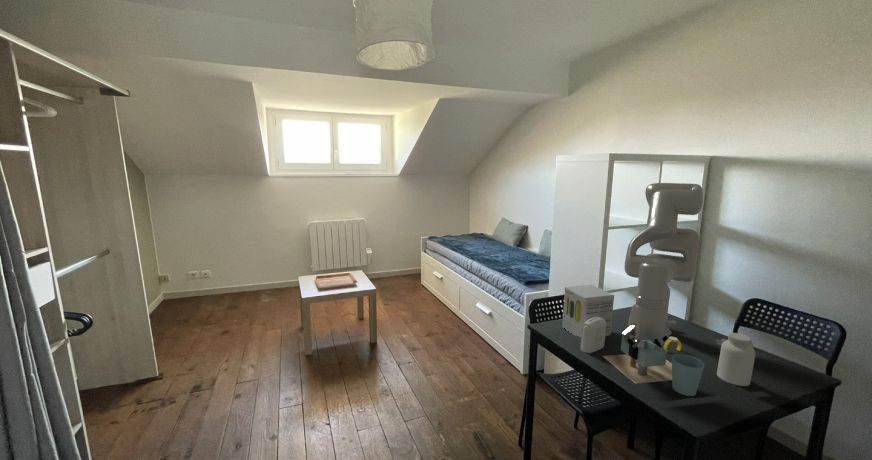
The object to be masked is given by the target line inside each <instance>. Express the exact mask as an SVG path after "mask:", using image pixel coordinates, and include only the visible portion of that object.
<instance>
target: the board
mask: <svg viewBox="0 0 872 460" xmlns="http://www.w3.org/2000/svg"><path fill="white" fill-rule="evenodd" d="M602 358H604V359H605V360H606V361H608V363H609V364H611V366H613V367H615V369H617V370H619V371H620V372H621V373H622V374H623V375H624V376H625V377H626V378H628V379H629V380H630V381H631V382H632V383H633V384H635V385H636V384H647V383H656V382H667V381H672V362H670V361H669V360H667V359H666V363H665V365H663V366H651V367H643V366H642V365H640V364H639V363H638V362H636V361H635V360H634V359H632V358H631V357H629V356H628V355H627V354H625V353H624V354H623V353H622V354H611V355H602Z"/></svg>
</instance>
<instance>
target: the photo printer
mask: <svg viewBox="0 0 872 460" xmlns="http://www.w3.org/2000/svg"><path fill="white" fill-rule="evenodd" d="M605 332H606V321H605V320H604V319H603V318H600V317H594V318H591V319H589V320H587V321H586V322H585V323H584V324H583V325H582V332H581V337H580V346H579V350H580V351H582V352H583V353H585V354H586V353H587V354H593V353H594V352H596V351H599V350H601V349H603V348H604V347H605V342H606V336H605Z"/></svg>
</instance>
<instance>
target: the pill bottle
mask: <svg viewBox="0 0 872 460" xmlns="http://www.w3.org/2000/svg"><path fill="white" fill-rule="evenodd" d="M727 340H728V341H725V342H723V343H722V345H720V346H721V347H720V352H719V353H720V354H719V357H718V358H719V359H718V365H717V369H716V370H717V371H716V375H717V377H718V378H719V379H720V380H722V381H724V382H726V383H729V384H731V385H735V386H740V387H748V386H750V385H751V381H752V376H753V371H754V365H755V360H756V351H755V349H754V348H752V347H751V341H752V338H751V337H750V336H748V335H746V334H743V333H738V332H730V333H729V334H728V335H727Z"/></svg>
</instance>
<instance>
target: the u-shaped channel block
mask: <svg viewBox="0 0 872 460" xmlns="http://www.w3.org/2000/svg"><path fill="white" fill-rule="evenodd" d="M634 341H635V340H633V342H634ZM620 343H621V344H620V351H622V352H623V353H624V354H627V355H628V356H629V353H628V352H629V344H628V343H627V341H626V340H625V338H624V337H623V336H621V342H620ZM637 347H638V356H637V360H635V361H636V362H638V363H639V364H640V365H642V366H643V367H651V366H663V365H665V363H666V360H667V353H668V352H667V351H668V350H667V351H666V350H664V348H661V347H659V346H657V345H656V344H654V343H653V341H651V339H648V340H641V341H640V342H639V344H638V345H637ZM629 357H630V356H629ZM631 358H632V357H631ZM632 359H633V358H632Z"/></svg>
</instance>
